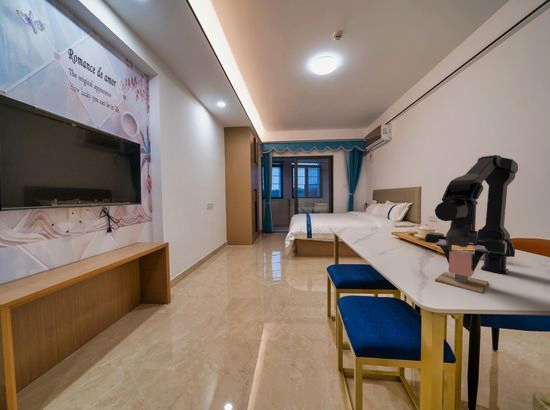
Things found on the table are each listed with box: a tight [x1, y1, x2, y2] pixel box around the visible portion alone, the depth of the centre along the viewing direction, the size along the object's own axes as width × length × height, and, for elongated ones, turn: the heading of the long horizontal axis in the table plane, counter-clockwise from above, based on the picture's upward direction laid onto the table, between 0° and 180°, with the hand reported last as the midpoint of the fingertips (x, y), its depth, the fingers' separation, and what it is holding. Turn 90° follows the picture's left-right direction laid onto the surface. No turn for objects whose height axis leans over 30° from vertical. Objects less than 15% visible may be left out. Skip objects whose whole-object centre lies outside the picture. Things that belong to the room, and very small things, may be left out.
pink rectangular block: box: [448, 248, 475, 278], centre depth 67 cm, size 5×5×7 cm
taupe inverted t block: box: [434, 271, 489, 294], centre depth 67 cm, size 11×11×7 cm
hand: (461, 268), depth 67 cm, fingers closed on pink rectangular block, 5 cm apart
